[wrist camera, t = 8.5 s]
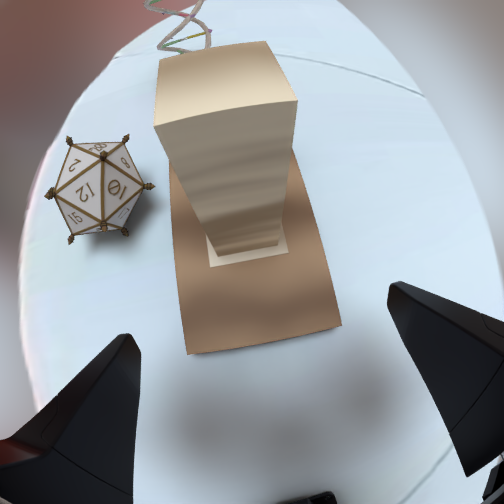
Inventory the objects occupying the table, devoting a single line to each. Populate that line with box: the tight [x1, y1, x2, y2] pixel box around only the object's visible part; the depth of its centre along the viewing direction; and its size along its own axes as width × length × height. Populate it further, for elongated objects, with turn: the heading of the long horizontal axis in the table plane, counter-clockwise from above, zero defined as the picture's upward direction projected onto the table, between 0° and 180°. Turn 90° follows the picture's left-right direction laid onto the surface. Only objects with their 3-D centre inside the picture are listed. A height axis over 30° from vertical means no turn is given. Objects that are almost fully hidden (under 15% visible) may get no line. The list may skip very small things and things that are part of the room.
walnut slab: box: [169, 149, 342, 355], centre depth 19 cm, size 16×10×2 cm, turn 10°
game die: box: [44, 134, 156, 245], centre depth 18 cm, size 9×8×10 cm
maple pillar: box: [153, 41, 298, 257], centre depth 13 cm, size 4×4×12 cm
